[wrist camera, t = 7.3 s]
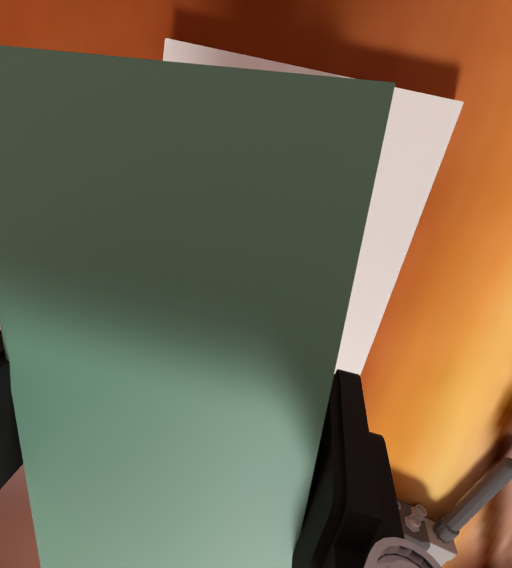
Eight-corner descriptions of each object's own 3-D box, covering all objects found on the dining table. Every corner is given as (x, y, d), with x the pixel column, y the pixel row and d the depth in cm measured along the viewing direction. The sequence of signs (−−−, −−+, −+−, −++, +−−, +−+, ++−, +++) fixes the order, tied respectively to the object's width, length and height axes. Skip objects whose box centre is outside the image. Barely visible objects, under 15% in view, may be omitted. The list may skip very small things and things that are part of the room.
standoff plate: (453, 104, 19) (501, 94, 14) (344, 398, 26) (349, 463, 21) (176, 44, 20) (125, 14, 15) (143, 343, 27) (101, 392, 22)
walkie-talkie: (365, 607, 33) (520, 452, 25) (371, 672, 29) (557, 513, 21) (272, 563, 33) (398, 395, 25) (265, 623, 29) (412, 445, 21)
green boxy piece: (363, 103, 8) (395, 82, 5) (282, 539, 14) (267, 688, 10) (102, 77, 9) (-47, 41, 5) (120, 503, 14) (51, 631, 11)
